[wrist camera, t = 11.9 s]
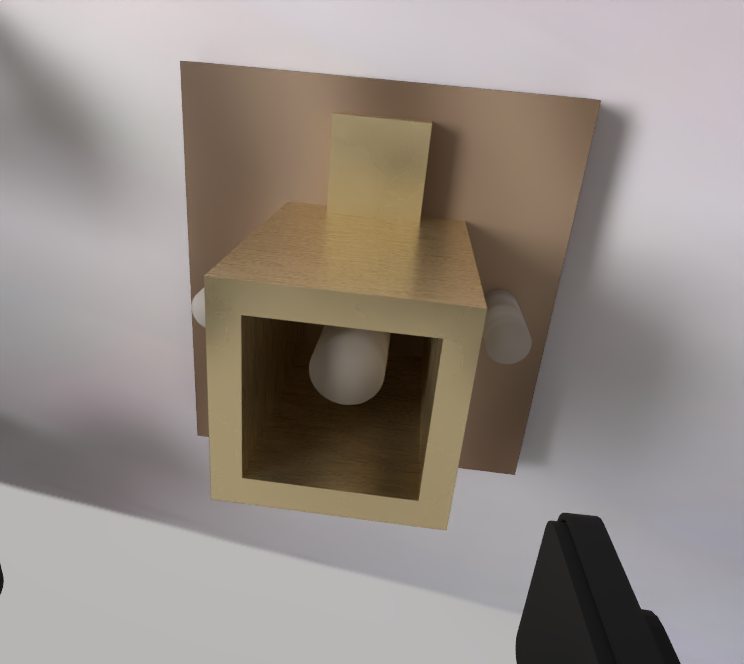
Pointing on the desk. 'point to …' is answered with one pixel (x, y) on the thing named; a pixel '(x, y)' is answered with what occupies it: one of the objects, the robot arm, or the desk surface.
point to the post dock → (440, 200)
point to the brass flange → (353, 310)
